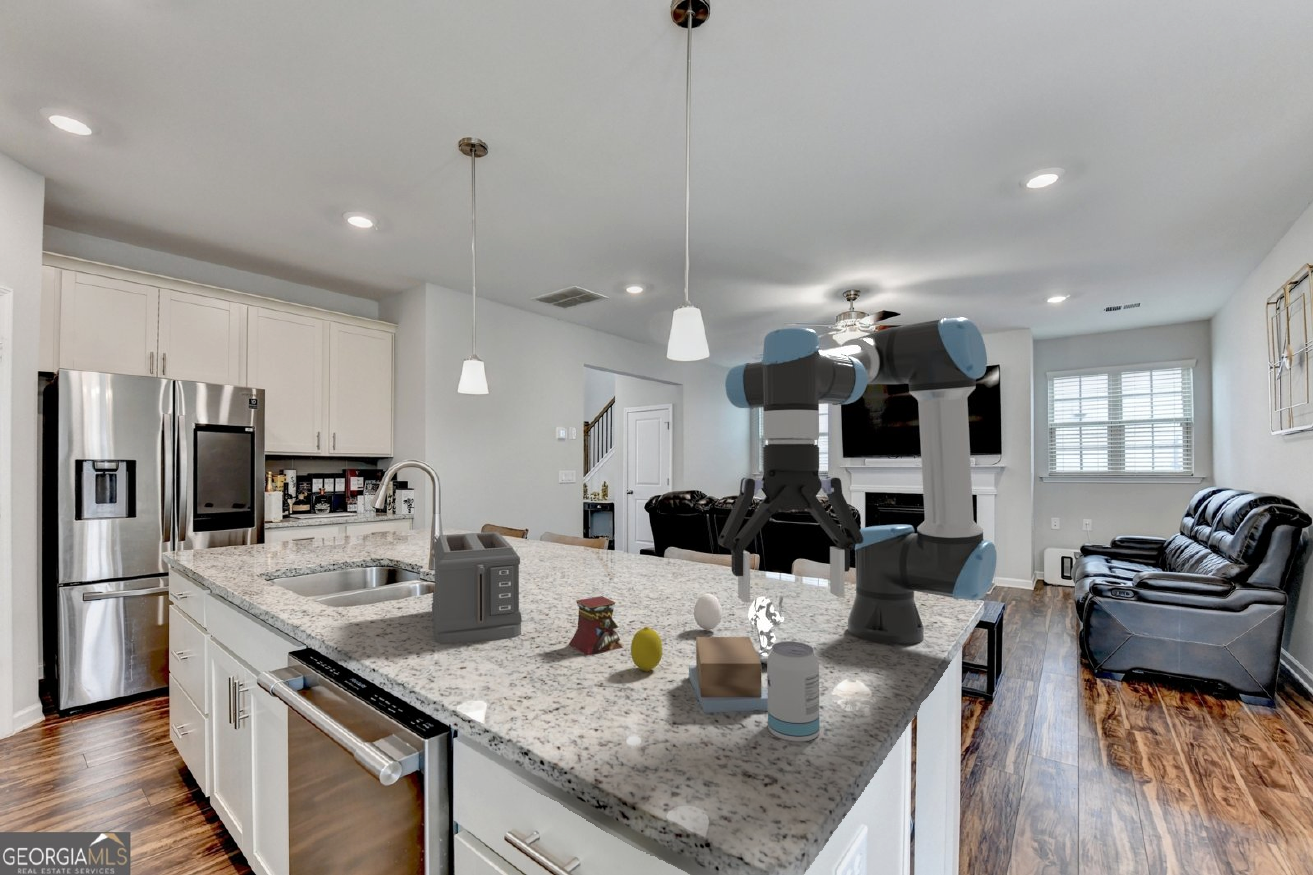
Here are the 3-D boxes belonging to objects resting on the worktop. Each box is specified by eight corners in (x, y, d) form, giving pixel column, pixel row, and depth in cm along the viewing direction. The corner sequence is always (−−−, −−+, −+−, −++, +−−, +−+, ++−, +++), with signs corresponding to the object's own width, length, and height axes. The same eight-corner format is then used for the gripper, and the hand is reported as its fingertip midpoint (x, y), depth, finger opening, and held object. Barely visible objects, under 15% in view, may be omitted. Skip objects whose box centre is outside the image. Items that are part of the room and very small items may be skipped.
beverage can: (775, 720, 85) (774, 637, 85) (823, 730, 82) (823, 644, 82) (761, 742, 79) (761, 652, 79) (814, 753, 76) (813, 660, 76)
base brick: (746, 680, 101) (746, 663, 101) (771, 718, 87) (770, 698, 87) (688, 683, 99) (688, 665, 100) (704, 722, 86) (704, 701, 86)
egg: (688, 630, 126) (688, 594, 126) (703, 623, 131) (702, 589, 131) (713, 635, 122) (713, 599, 122) (727, 628, 127) (726, 592, 127)
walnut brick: (749, 666, 99) (749, 636, 99) (761, 697, 87) (761, 663, 87) (696, 666, 99) (696, 636, 99) (700, 697, 87) (700, 663, 87)
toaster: (436, 652, 114) (435, 556, 114) (431, 611, 142) (431, 534, 142) (525, 641, 120) (524, 550, 120) (503, 603, 149) (503, 529, 149)
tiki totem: (588, 658, 110) (587, 609, 110) (567, 646, 117) (567, 600, 117) (626, 649, 115) (626, 602, 115) (604, 637, 122) (604, 593, 122)
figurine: (772, 674, 101) (771, 605, 102) (739, 667, 105) (738, 600, 105) (792, 658, 109) (792, 593, 109) (761, 651, 113) (760, 589, 113)
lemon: (647, 664, 107) (646, 620, 107) (668, 672, 103) (668, 626, 103) (624, 672, 103) (624, 626, 103) (646, 681, 99) (645, 634, 99)
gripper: (859, 442, 87) (860, 587, 86) (696, 442, 82) (696, 594, 82) (888, 442, 79) (890, 600, 79) (710, 442, 75) (711, 609, 74)
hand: (791, 597), depth 80 cm, fingers open, 13 cm apart
